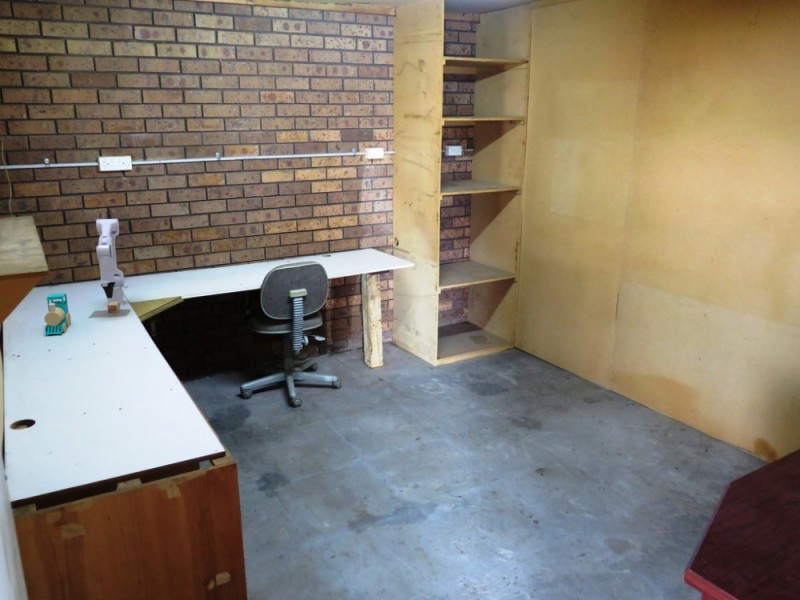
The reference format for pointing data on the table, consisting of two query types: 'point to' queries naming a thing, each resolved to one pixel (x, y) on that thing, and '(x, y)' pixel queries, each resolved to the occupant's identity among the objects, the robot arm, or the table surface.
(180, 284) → the table surface
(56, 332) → the toy train
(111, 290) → the robot arm
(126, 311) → the slate mat
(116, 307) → the maple block
